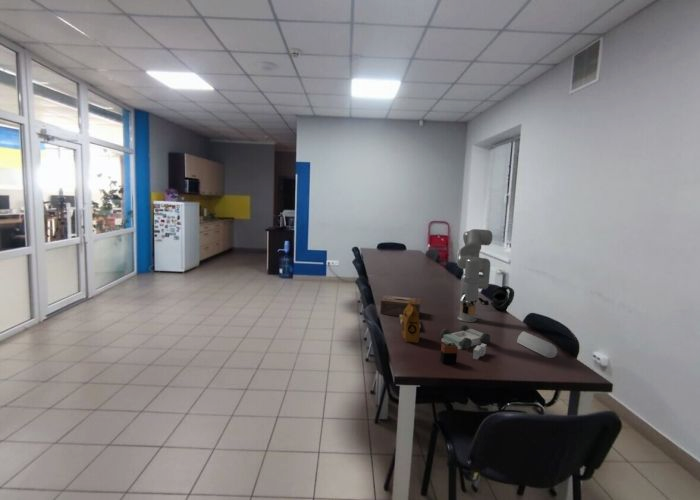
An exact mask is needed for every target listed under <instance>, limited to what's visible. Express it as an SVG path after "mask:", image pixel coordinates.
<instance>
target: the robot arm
mask: <svg viewBox="0 0 700 500" xmlns="http://www.w3.org/2000/svg"><path fill="white" fill-rule="evenodd" d="M462 237H463V243H464V245H463V246H462V247H461V248H460V249H459V251H458V252H457V253H458V254H457V259H456V266H457V267H458V269H459V268H460V269H462V270H463V269H464V273H463V274H462V275H461V280H460V281H461V282H460V283H461V291H460V295H459V296H460V297H459V299H460V300H459V302H460V306H459V315H457V316H456V319H457V320H459V321H461V322H467V323H474V322H475V323H476V321H477V316H479V312H475V315H472V316H469V315H466V314H468V303H471V304H472V305H474V306H476V303H477V302H478V301H479V299H478V298H479V290H486V289H488V288H489V285H490V277H491V276H490V275H491V260H490V259H488V258H486V257H480V251H481V250H482V246H490V245H491V244H492V242H493V232H492V231H491V230H489V229H478V228H475V229H474V228H473V229H470V230H468V231H464V233H463V236H462ZM462 305H463V313H466V314H463V313H461V310H462Z"/></svg>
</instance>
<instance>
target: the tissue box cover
mask: <svg viewBox="0 0 700 500" xmlns="http://www.w3.org/2000/svg"><path fill="white" fill-rule="evenodd" d="M409 299H411V300H413V301H414V302H415V307H416V310H417V313H418V316H419V317H420V312H421V300H422V299H421V298H414V297H405V296H404V297H403V296H397V295H394V296H393V295H386V294H384V295H383V296H382V298H381V300H380V312H379V315H386V316H395V317H400V315H403V312H404V310H405V308H406V307H407V305H408V304H409V302H408V300H409Z"/></svg>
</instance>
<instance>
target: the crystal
mask: <svg viewBox="0 0 700 500" xmlns="http://www.w3.org/2000/svg"><path fill="white" fill-rule="evenodd" d="M516 342H517V344H520V345H522V346H523V347H525V348H527V349H528V350H532V351H533V352H536V353H538V354H540V355H541V356H543V357H545V358H549V359H550V358H551V359H552V358H555V357H556V356H557V354H558V350H557V347H556V346H555V345H554V344H553V343H551V342H548V341H546V340H544V339H542V338H540V337H537V336H535V335H534V334H530V333H528V332H526V331H524V330H523V331H522V332H521V333H520V334H519V335H518V337H517V340H516Z"/></svg>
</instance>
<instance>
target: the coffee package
mask: <svg viewBox="0 0 700 500" xmlns="http://www.w3.org/2000/svg"><path fill="white" fill-rule="evenodd" d="M408 302H409V304H408V305H407V307H406V308H405V310H404V312H403V320H402V328H401V336H402V338H403V339H404V340H405V342H406V343H415V344H417V343H419V340H420V330H421V328H420V325H421V322H420V318H419V317H420V315H419V316H418V313H417V310H416V307H415V302H414V301H413V300H411V299H409V300H408Z"/></svg>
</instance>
